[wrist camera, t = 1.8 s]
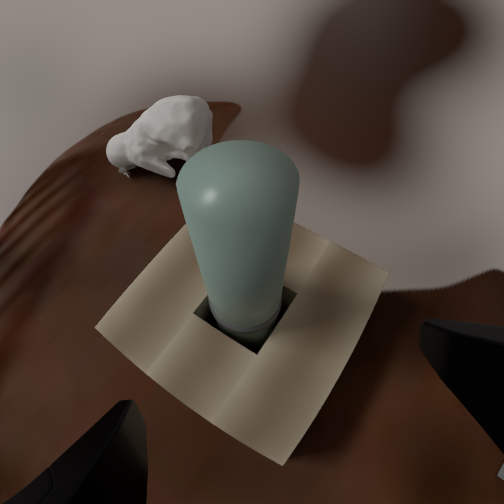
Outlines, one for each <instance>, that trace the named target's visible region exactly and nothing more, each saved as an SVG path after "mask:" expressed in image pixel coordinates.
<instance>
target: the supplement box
mask: <svg viewBox="0 0 504 504" xmlns="http://www.w3.org/2000/svg"><path fill="white" fill-rule="evenodd" d="M497 476H498V477H500V478H501V479H502V480H504V463H503V465H502V467H501V469H500V471H499V473H498V475H497Z"/></svg>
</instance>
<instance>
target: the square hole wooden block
mask: <svg viewBox="0 0 504 504" xmlns="http://www.w3.org/2000/svg"><path fill="white" fill-rule="evenodd" d="M388 274H389V272H387V271H386V270H384V269H382V268H380V267H378V266H376V265H374V264H373V263H371V262H369V261H367V260H365V259H364V258H362V257H360V256H358V255H356V254H354V253H352V252H350V251H348V250H347V249H345V248H343V247H341V246H339V245H337V244H335V243H333V242H331V241H329V240H328V239H326V238H324V237H322V236H320V235H318V234H316V233H314V232H312V231H310V230H308V229H306V228H304V227H302V226H300V225H298V224H296V223H293V229H292V235H291V241H290V247H289V253H288V259H287V265H286V271H285V276H284V282H283V288H282V303H281V308H280V310H281V311H282V312H284V313H285V314H284V315H283V317H282V318H281V320H280V321H279V323H278V324H277V326H276V327H275V329H274V330H273V332H272V333H271V335H270V336H269V338H268V339H267V341H266V342H265V344H264V345H263V347H262V348H261V350H260V351H259V353H258V354H257V355H256V354H255V353H253V352H252V351H250V350H248V349H247V348H245V347H244V346H242V345H240V344H239V343H237V342H236V341H234V340H232V339H231V338H229V337H228V336H226V335H225V334H223V333H222V332H220V331H219V330H217V329H216V328H214V327H213V326H211V325H210V323H211V322H212V321H213V319H214V316H213V314H212V311H211V309H210V306H209V301H208V294H207V290H206V287H205V284H204V281H203V278H202V274H201V271H200V268H199V265H198V261H197V258H196V255H195V251H194V248H193V245H192V241H191V238H190V234H189V231H188V228H187V224H185V225H184V226H183V228H182V229H181V230H180V231H179V232H178V233H177V234H176V235H175V236H174V237H173V238H172V239H171V240H170V241H169V243H168V244H167V245H166V246H165V247H164V248H163V249H162V250H161V251H160V252H159V253H158V255H157V256H156V257H155V258H154V259H153V260H152V261H151V262H150V263H149V265H148V266H147V267H146V268H145V269H144V270H143V271H142V272H141V274H140V275H139V276H138V277H137V278H136V279H135V280H134V282H133V283H132V284H131V285H130V286H129V287H128V288H127V290H126V291H125V292H124V293H123V294H122V295H121V297H120V298H119V299H118V300H117V301H116V302H115V304H114V305H113V306H112V307H111V308H110V310H109V311H108V312H107V313H106V314H105V316H104V317H103V318H102V319H101V320H100V322H99V323H98V324H97V325H96V327H95V328H96V329H97V330H98V331H99V332H100V333H101V334H102V335H103V336H104V337H105V338H106V339H107V340H108V341H109V342H111V343H112V344H113V345H114V346H115V347H116V348H117V349H118V350H119V351H120V352H121V353H123V354H124V355H125V356H126V357H127V358H128V359H129V360H130V361H132V362H133V363H134V364H135V365H136V366H137V367H139V368H140V369H141V370H142V371H143V372H145V373H146V374H147V375H148V376H149V377H151V378H152V379H153V380H154V381H155V382H157V383H158V384H159V385H160V386H162V387H163V388H164V389H166V390H167V391H168V392H169V393H171V394H172V395H173V396H175V397H176V398H177V399H179V400H180V401H181V402H183V403H184V404H185V405H187V406H188V407H189V408H191V409H192V410H194V411H195V412H196V413H198V414H199V415H201V416H202V417H204V418H205V419H206V420H208V421H209V422H211V423H212V424H214V425H215V426H217V427H218V428H220V429H221V430H223V431H224V432H226V433H228V434H229V435H231V436H232V437H234V438H235V439H237V440H239V441H240V442H242V443H244V444H245V445H247V446H248V447H250V448H252V449H254V450H255V451H257V452H259V453H260V454H262V455H264V456H266V457H267V458H269V459H271V460H273V461H275V462H277V463H278V464H280V465H282V466H283V465H284V463H285V462H286V460H287V459H288V458H289V456H290V455H291V453H292V452H293V450H294V449H295V448H296V446H297V445H298V443H299V442H300V440H301V439H302V437H303V436H304V434H305V433H306V431H307V429H308V428H309V426H310V425H311V423H312V422H313V420H314V418H315V417H316V415H317V414H318V412H319V410H320V409H321V407H322V405H323V404H324V402H325V400H326V399H327V397H328V395H329V394H330V392H331V390H332V388H333V387H334V385H335V383H336V381H337V380H338V378H339V376H340V374H341V372H342V370H343V369H344V367H345V365H346V363H347V361H348V359H349V357H350V356H351V354H352V352H353V350H354V348H355V346H356V344H357V342H358V340H359V338H360V336H361V334H362V332H363V330H364V328H365V326H366V324H367V321H368V319H369V317H370V315H371V313H372V311H373V309H374V306H375V304H376V302H377V300H378V297H379V295H380V293H381V291H382V288H383V285H384V284H385V281H386V279H387V276H388Z"/></svg>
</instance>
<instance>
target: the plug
mask: <svg viewBox="0 0 504 504" xmlns="http://www.w3.org/2000/svg"><path fill="white" fill-rule="evenodd" d="M298 189H299V173H298V170H297V168H296V166H295V165H294V163H293V162H292V160H291V159H290V158H289V157H288V156H287V155H286V154H284V153H283V152H282V151H280V150H278V149H277V148H275V147H272V146H270V145H268V144H264V143H261V142H256V141H249V140H233V141H226V142H221V143H217V144H214V145H211V146H208V147H206V148H204V149H202V150H201V151H199V152H197V153H196V154H194V155H193V156H192V157H191V158H190V159H189V160H188V161H187V162H186V163H185V164H184V165H183V167H182V169H181V170H180V173H179V175H178V179H177V191H178V195H179V199H180V203H181V206H182V210H183V213H184V217H185V221H186V224H187V228H188V231H189V234H190V238H191V241H192V245H193V248H194V251H195V255H196V258H197V261H198V265H199V268H200V271H201V274H202V278H203V281H204V284H205V287H206V290H207V294H208V301H209V306H210V309H211V311H212V314H213V316H214V318H215V319H216V321H217V324H218V327H219V330H220V332H222V333H223V334H225V335H226V336H228V337H229V338H231V339H232V340H234V341H236V342H237V343H239V344H240V345H242V346H244V347H245V348H247V349H248V350H250V351H251V350H256V349H259V348H261V347H263V345H264V344H265V342H266V341H267V339H268V338H269V336H270V335H271V333H272V332H273V330H274V329H275V326H276V320H277V316H278V314H279V311H280V308H281V303H282V288H283V282H284V276H285V271H286V265H287V259H288V253H289V247H290V241H291V235H292V229H293V223H294V216H295V210H296V203H297V197H298Z"/></svg>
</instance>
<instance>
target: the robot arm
mask: <svg viewBox="0 0 504 504" xmlns="http://www.w3.org/2000/svg"><path fill="white" fill-rule="evenodd" d="M419 347H420V350H421V352H422V353H423V354H424V356H425V357H426V359H427V360H428V361H429V363H430V364H431V366H432V367H433V368H434V370H435V371H436V373H437V374H438V375H439V377H440V378H441V380H442V381H443V382H444V383H445V385H446V386H447V387H448V388H449V389H450V390H451V391H452V393H453V394H454V395H455V396H456V397H457V398H458V400H459V401H460V402H461V403H462V404H463V405H464V407H465V408H466V409H467V410H468V411H469V412H470V414H471V415H472V416H473V417H474V418H475V420H476V421H477V422H478V423H479V424H480V426H481V427H482V428H483V429H484V430H485V432H486V433H487V434H488V435H489V437H490V438H491V439H492V440H493V441H494V443H495V444H496V445H497V446H498V448H499V449H500V450H501V451H502V453H503V454H504V326H495V325H485V324H476V323H467V322H459V321H450V320H442V319H434V318H431V319H429V320H426V321H424V322H422V324H421V326H420V338H419ZM147 478H148V461H147V444H146V425H145V421H144V419H143V417H142V415H141V413H140V411H139V409H138V407H137V405H136V403H135V401H134V400H132V399H129V400H121V401H119V402H118V403H117V404H116V405H115V406H114V407H112V408H111V409H110V410H109V411H108V412H107V413H106V414H105V415H104V416H103V417H102V418H101V419H100V420H99V421H98V422H97V423H95V424H94V425H93V426H92V427H91V428H90V429H89V430H88V431H87V432H86V433H85V434H84V435H83V436H81V437H80V438H79V439H78V440H77V441H76V442H75V443H74V444H73V445H72V446H71V447H70V448H69V449H67V450H66V451H65V452H64V453H63V454H62V455H61V456H60V457H59V458H58V459H57V460H55V461H54V462H53V463H52V464H51V465H50V468H49V467H48V468H47V469H46V470H44V471H43V472H42V473H41V474H40V475H39V476H38V477H37V478H35V479H34V480H33V481H32V482H31V483H30V484H28V485H27V486H26V487H24V488H23V489H22V490H20V491H19V492H18V493H16V494H15V495H14V496H12V497H11V498H9V499H8V500H7V501H5V502H4V503H2V504H146V500H147Z"/></svg>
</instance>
